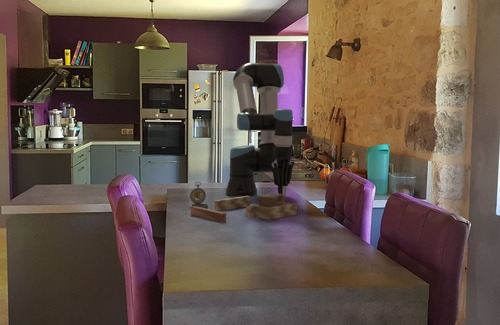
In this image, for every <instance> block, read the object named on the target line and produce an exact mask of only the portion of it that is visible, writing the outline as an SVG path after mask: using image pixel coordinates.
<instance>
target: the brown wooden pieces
mask: <svg viewBox="0 0 500 325" xmlns="http://www.w3.org/2000/svg"><path fill="white" fill-rule="evenodd" d="M244 207H245V217H246V218H259V219H264V220H273V219H275V220H276V219H279V218H285V217H290V216H294V215H295V216H296V215H298V214H297V213H298V211H297V210H298V204H297V203H291V202H288V201H287V202H286V201H285V202H276V206H275V207H269V208H268V207H263V206H259V204H257V205H256V204H253V205H251V196H234V197H230V198H229V197H228V198H223V199H215V200H214V209H209V208H201V207H196V206H193V207H192V206H190V215H192V216H195V217H200V218H203V219H208V220H211V221H217V222H221V223H223V222H227V212H223V211H225V210H233V209H237V208H238V209H239V208H244Z"/></svg>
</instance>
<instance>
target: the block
mask: <svg viewBox="0 0 500 325" xmlns="http://www.w3.org/2000/svg"><path fill="white" fill-rule="evenodd" d="M276 202H286V195H285V196H283V195H278V194H274V193H267V194H263V195H258V206H263V207H268V208H269V207H275V206H276Z"/></svg>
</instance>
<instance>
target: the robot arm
mask: <svg viewBox="0 0 500 325" xmlns="http://www.w3.org/2000/svg"><path fill="white" fill-rule="evenodd" d="M283 71H284V70H283V68H282V66H281V65H280V64H278V63H274V62H273V63H272V62H270V63H265V62H264V63H263V62H262V63H261V62H260V63H259V62H248V63H244V64H242V65H241V66H239V68H238V69H237V70H236V71H235V73H234V75H233V78H232V82H233V87H234V89H235V90H236V94H237V100H238V102H237V103H238V108H239V113H237V116H236V128H237V129H238V130H239V131H245V132H248V131H250V132H251V131H254V132H256V131H260V140H261V141H260V142H259V144H258V146H257V147H256V146H255V145H254V144H248V145H247V144H246V145H239V146H234V147H232V148H231V149H230V152H229V179H228V182H227V186H226V188H225V194H226V195H227V196H232V197H242V196H250V197H254V196H257V195H258V188H257V185H256V181H255V173H271V174H272V177H273V183H274V185H275V186H277V195H283V196H285V197H286V193H287V187H288V186H289V184H291V179H292V173H293V169H294V168H293V167H294V165H295V161H292V158H291V155H292V154H293V147H292V145H293V123H294V122H293V121H294V120H293V119H294V115H293V110H292V109H285V108H284V109H283V108H282V109H280V108H279V106H278V105H279V101H278V98H279V96H278V93H280V91H281V88H283V87H284V84H285V80H284V79H285V78H284V72H283ZM253 88H256V91H257V92H258V94H259V99H260V100H259V101H260V102H259V105H260V107H259V108H260V113H258V108H257V103H256V99H255V94H254V89H253Z"/></svg>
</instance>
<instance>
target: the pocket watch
mask: <svg viewBox="0 0 500 325" xmlns="http://www.w3.org/2000/svg"><path fill="white" fill-rule="evenodd" d="M197 183H198V184H197ZM194 185H195V186H196V188H193V189H192V190H191V191H190V194H189V198H190V200H191V202H192V203H193V204H191V207H193V206H196V207H201V208H205V209H207V208H208V205H209V204H207V203H203V202H204V201H205V200H206V198H207V195H206V191H205V190H204V189H203V188H201V187H200V186H201V185H202V182H199V181H196V182H194Z"/></svg>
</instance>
